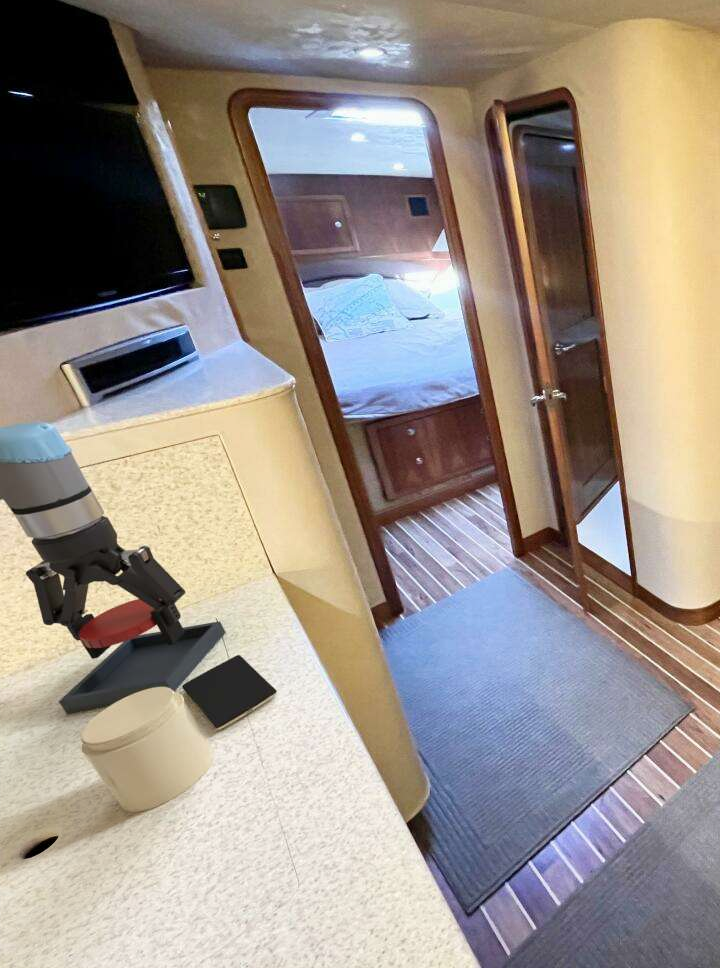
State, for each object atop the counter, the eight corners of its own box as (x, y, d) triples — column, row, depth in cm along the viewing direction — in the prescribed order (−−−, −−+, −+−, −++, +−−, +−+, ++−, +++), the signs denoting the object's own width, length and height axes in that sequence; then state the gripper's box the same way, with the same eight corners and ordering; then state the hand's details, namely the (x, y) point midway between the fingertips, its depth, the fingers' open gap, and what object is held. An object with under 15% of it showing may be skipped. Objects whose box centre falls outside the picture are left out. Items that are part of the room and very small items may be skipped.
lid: (165, 626, 83) (160, 618, 83) (76, 658, 78) (70, 649, 77) (172, 596, 90) (168, 588, 90) (91, 624, 85) (86, 615, 84)
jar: (100, 821, 65) (51, 755, 61) (153, 754, 73) (114, 692, 69) (186, 801, 67) (145, 736, 62) (229, 738, 75) (195, 676, 71)
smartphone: (216, 728, 75) (180, 685, 83) (219, 734, 75) (183, 690, 83) (277, 690, 81) (238, 653, 88) (280, 696, 81) (241, 658, 89)
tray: (66, 714, 80) (57, 701, 79) (135, 648, 92) (128, 636, 91) (173, 693, 83) (165, 681, 82) (226, 632, 95) (220, 620, 94)
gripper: (176, 501, 83) (232, 615, 91) (0, 526, 78) (76, 643, 87) (140, 527, 76) (204, 647, 84) (-55, 554, 72) (33, 679, 80)
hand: (139, 645), depth 86 cm, fingers closed on lid, 9 cm apart
